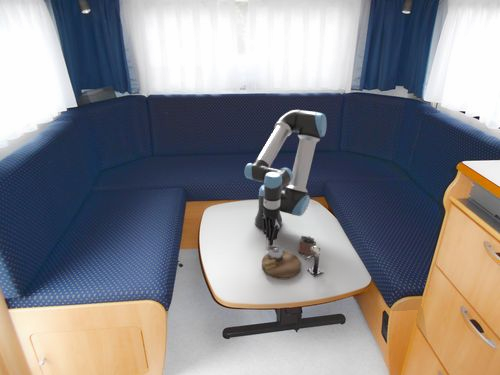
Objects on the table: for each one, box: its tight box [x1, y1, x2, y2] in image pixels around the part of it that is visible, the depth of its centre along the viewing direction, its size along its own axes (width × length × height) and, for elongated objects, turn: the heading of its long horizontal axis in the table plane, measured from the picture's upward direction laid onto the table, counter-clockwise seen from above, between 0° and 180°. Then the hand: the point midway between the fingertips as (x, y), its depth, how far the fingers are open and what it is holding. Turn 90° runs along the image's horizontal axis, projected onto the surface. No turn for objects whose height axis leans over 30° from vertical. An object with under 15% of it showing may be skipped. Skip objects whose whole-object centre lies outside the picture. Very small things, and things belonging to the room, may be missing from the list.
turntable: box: [261, 250, 302, 280], centre depth 159 cm, size 18×18×5 cm
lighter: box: [297, 235, 317, 257], centre depth 167 cm, size 8×3×10 cm, turn 71°
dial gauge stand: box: [304, 245, 324, 278], centre depth 154 cm, size 5×8×14 cm, turn 123°
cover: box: [267, 245, 285, 262], centre depth 162 cm, size 7×7×5 cm
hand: (269, 249), depth 166 cm, fingers closed
